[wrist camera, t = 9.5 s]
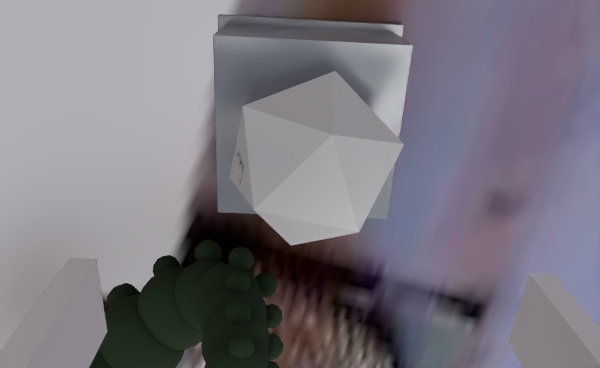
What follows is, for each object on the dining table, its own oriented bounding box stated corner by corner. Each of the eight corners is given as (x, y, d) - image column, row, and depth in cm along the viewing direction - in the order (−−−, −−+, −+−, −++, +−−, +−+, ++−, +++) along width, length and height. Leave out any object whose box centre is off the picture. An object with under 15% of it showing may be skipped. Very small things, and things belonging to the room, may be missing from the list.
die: (317, 28, 26) (192, 90, 20) (452, 108, 24) (358, 206, 18) (286, 137, 32) (181, 212, 26) (392, 210, 30) (306, 311, 24)
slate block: (223, 180, 36) (210, 218, 31) (219, 14, 31) (203, 25, 26) (379, 186, 37) (393, 226, 31) (401, 23, 31) (423, 36, 26)
